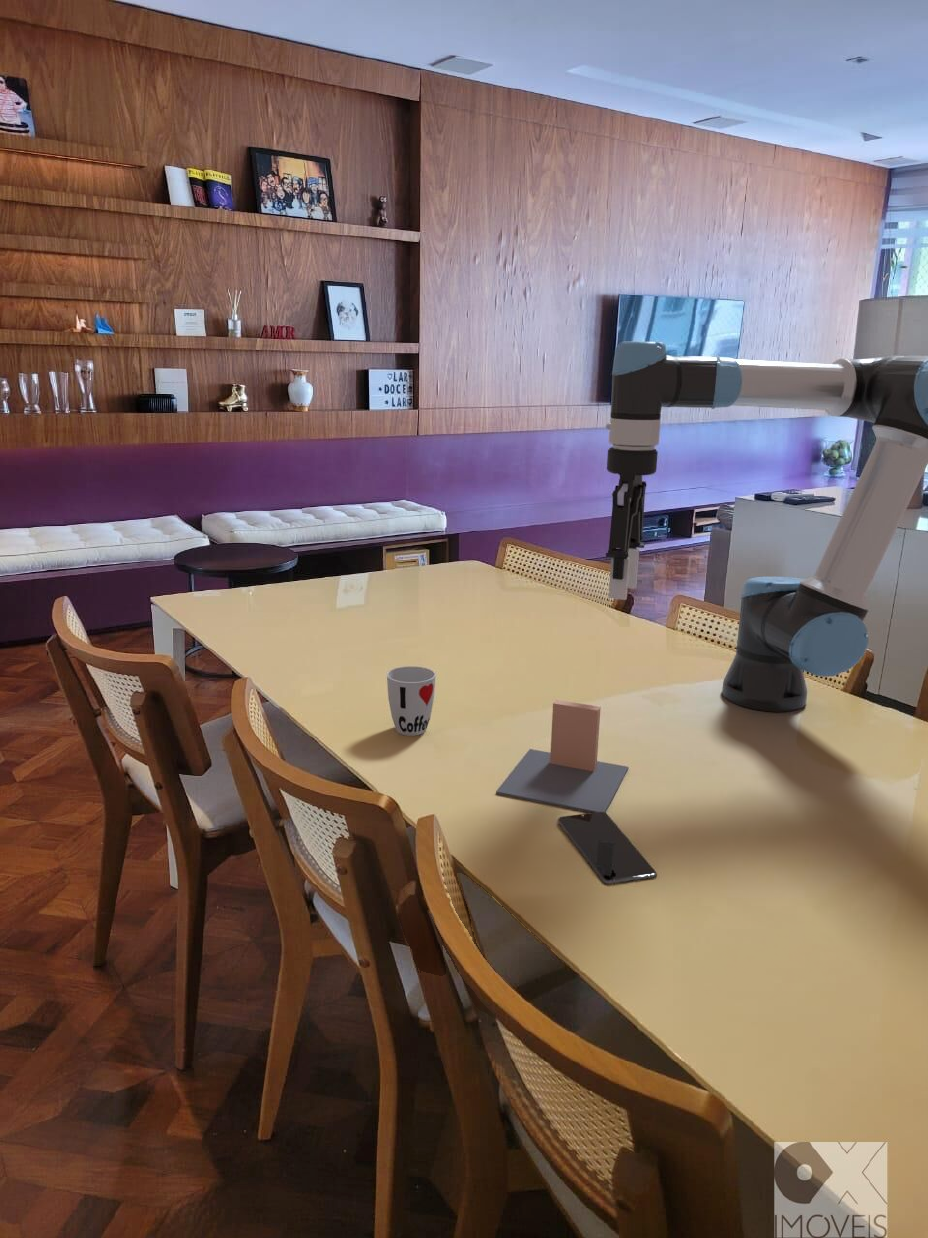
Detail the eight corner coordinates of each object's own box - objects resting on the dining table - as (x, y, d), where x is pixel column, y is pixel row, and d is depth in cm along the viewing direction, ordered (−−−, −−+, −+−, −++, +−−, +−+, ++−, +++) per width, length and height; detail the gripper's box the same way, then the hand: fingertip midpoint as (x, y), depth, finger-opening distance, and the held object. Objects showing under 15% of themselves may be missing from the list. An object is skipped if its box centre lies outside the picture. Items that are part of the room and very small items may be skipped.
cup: (392, 741, 149) (391, 684, 146) (383, 722, 156) (382, 667, 153) (440, 737, 151) (440, 680, 148) (428, 718, 158) (429, 664, 156)
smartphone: (604, 882, 110) (556, 816, 124) (604, 890, 110) (555, 823, 125) (659, 874, 112) (605, 810, 126) (659, 881, 112) (605, 817, 127)
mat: (628, 769, 141) (628, 766, 141) (604, 815, 126) (604, 813, 126) (529, 751, 146) (529, 748, 146) (495, 793, 132) (496, 791, 132)
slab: (596, 767, 140) (600, 706, 137) (594, 771, 139) (598, 710, 136) (552, 759, 143) (555, 699, 140) (549, 763, 141) (552, 703, 138)
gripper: (622, 440, 149) (613, 576, 155) (593, 451, 131) (584, 605, 138) (668, 442, 146) (657, 581, 153) (645, 454, 128) (633, 611, 135)
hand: (622, 592), depth 145 cm, fingers open, 7 cm apart
